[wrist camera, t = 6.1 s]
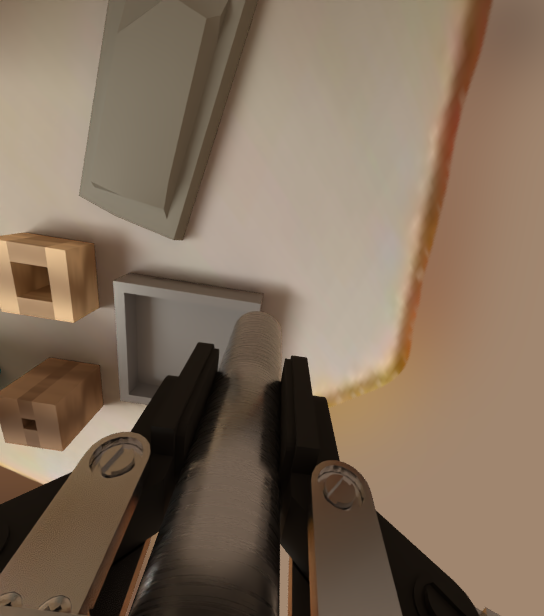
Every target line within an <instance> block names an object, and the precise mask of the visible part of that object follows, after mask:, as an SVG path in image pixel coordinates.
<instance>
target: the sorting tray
mask: <svg viewBox="0 0 544 616" xmlns="http://www.w3.org/2000/svg"><path fill="white" fill-rule="evenodd" d="M113 289H114V305H115V322H116V339H117V356H118V372H119V389H120V401H125V402H132V403H138V404H145V405H148V404H149V402H150V401H151V399H152V397H153V396H154V394H155V393H156V391H157V390H158V388H159V386H160V385H161V383H162V382H163V380H164V379H165V377H166V376H168V375H172V376H179V375H180V373H181V371H182V370H183V368H184V366H185V364H186V363H187V361H188V359H189V357H190V356H191V354H192V352H193V350H194V349H195V347H196V345H197V343H198V342H203V343H210V344H214V348H216V349H219V362H218V369H219V366H220V363H221V361H222V358H223V355H224V353H225V350H226V347H227V344H228V342H229V339H230V336H231V333H232V331H233V328H234V325H235V323H236V321H237V320H238V319H239V318H240V317H241V316H242V315H244V314H246V313H248V312H252V311H261V307H262V300H263V294H261V293H255V292H248V291H242V290H235V289H229V288H223V287H216V286H210V285H203V284H197V283H191V282H184V281H178V280H172V279H165V278H159V277H152V276H146V275H140V274H133V273H128V274H126V275H124V276H122V277H120V278H118V279H116V280H114V281H113Z"/></svg>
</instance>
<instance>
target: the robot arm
mask: <svg viewBox="0 0 544 616" xmlns="http://www.w3.org/2000/svg"><path fill="white" fill-rule="evenodd" d="M218 362H219V349H216V348H214V344H210V343H203V342H198V343H197V345H196V347H195V349H194V350H193V352H192V354H191V356H190V357H189V359H188V361H187V363H186V364H185V366H184V368H183V370H182V371H181V373H180V375H179V376H172V375H168V376H166V377H165V379H164V380H163V382H162V383H161V385H160V386H159V388H158V390H157V391H156V393H155V394H154V396H153V397H152V399H151V401H150V402H149V404H148V405H147V407H146V408H145V410H144V412H143V413H142V415H141V416H140V418H139V419H138V421H137V422H136V424H135V426H134V427H133V429H132V430H131V432H120V433H116V434H111V435H109V436H107V437H105V438H102V439H101V440H99V441H98V442H96V443H95V444H94V445H92V446H91V448H90V449H89V450H88V451H87V452H86V453H85V455H84V456H83V457H82V459H81V460H80V462H79V463H78V465H77V466H76V467H75V469H74V470H73V472H71V473H69V474H66V475H64V476H62V477H60V478H58V479H55V480H53V481H51V482H49V483H47V484H44V485H42V486H40V487H38V488H36V489H33V490H31V491H29V492H27V493H25V494H22V495H20V496H18V497H16V498H14V499H11V500H9V501H7V502H5V503H3V504H0V616H125V615H126V612H127V609H128V606H129V603H130V600H131V598H132V595H133V592H134V589H135V586H136V583H137V580H138V577H139V574H140V571H141V568H142V565H143V562H144V559H145V557H146V553H147V551H148V548H149V545H150V541H151V536H153V535H154V534H156V533H157V532H159V530H160V528H161V525H162V522H163V519H164V517H165V514H166V511H167V508H168V506H169V503H170V500H171V497H172V495H173V492H174V489H175V486H176V484H177V481H178V478H179V476H180V473H181V470H182V468H183V466H184V463H185V460H186V458H187V455H188V452H189V449H190V447H191V444H192V441H193V439H194V436H195V433H196V430H197V428H198V425H199V422H200V419H201V417H202V414H203V411H204V408H205V406H206V403H207V400H208V397H209V395H210V392H211V389H212V386H213V384H214V381H215V378H216V375H217V373H218ZM280 544H281V545H282V547H283V548H284V549H285V551H286V552H287V553H288V554H289V575H288V616H500V615H498V614H497V613H495V612H493V611H491V610H490V609H488V608H486V607H485V608H484V610H483V611H481V610H479V609H477V608H476V607H475V606H474V605H473V603H472V602H471V600H470V599H469V598H468V596H467V595H466V593H465V592H464V591H463V590H462V589H461V588H460V587H459V586H458V585H457V584H456V583H455V582H454V581H453V580H452V579H451V578H450V577H449V576H448V575H447V574H446V573H444V572H443V571H442V570H441V569H440V568H439V567H438V566H437V565H436V564H434V563H433V562H432V561H431V560H430V559H429V558H428V557H427V556H426V555H425V554H423V553H422V552H421V551H420V550H419V549H418V548H417V547H416V546H415V545H413V544H412V543H411V542H410V541H409V540H408V539H407V538H406V537H405V536H404V535H402V534H401V533H400V532H399V531H398V530H397V529H396V528H395V527H393V526H392V525H391V524H390V523H389V522H388V521H387V520H386V519H385V518H383V516H381V515H380V514H379V513H378V512H377V511H376V510H375V506H374V502H373V498H372V494H371V491H370V488H369V486H368V483H367V482H366V480H365V479H364V477H363V476H362V475H361V474H360V473H359V472H358V471H357V470H356V469H355V468H353V467H352V466H350V465H348V464H346V463H344V462H340V460H339V456H338V451H337V446H336V441H335V437H334V432H333V427H332V423H331V418H330V413H329V408H328V403H327V400H326V398H325V397H319V396H313V395H312V388H311V381H310V374H309V368H308V361H307V358H306V357H299V356H291V359H285V362H284V367H283V372H282V378H281V398H280Z"/></svg>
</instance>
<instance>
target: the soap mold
mask: <svg viewBox="0 0 544 616" xmlns="http://www.w3.org/2000/svg"><path fill="white" fill-rule="evenodd" d="M257 2H258V0H109V1H108V8H107V14H106V21H105V28H104V34H103V41H102V47H101V54H100V60H99V67H98V74H97V80H96V87H95V93H94V100H93V106H92V113H91V120H90V126H89V133H88V139H87V146H86V152H85V159H84V166H83V172H82V179H81V185H80V192H79V196H80V197H82V198H84V199H86V200H88V201H89V202H91V203H93V204H95V205H97V206H98V207H100V208H102V209H104V210H106V211H108V212H109V213H111V214H113V215H115V216H117V217H119V218H122V219H124V220H126V221H129V222H131V223H134V224H136V225H138V226H141V227H143V228H146V229H148V230H150V231H153V232H155V233H158V234H160V235H162V236H165V237H167V238H170V239H172V240H183V237H184V234H185V231H186V227H187V224H188V221H189V218H190V215H191V212H192V208H193V205H194V202H195V199H196V196H197V193H198V189H199V186H200V183H201V180H202V177H203V174H204V170H205V167H206V164H207V161H208V158H209V155H210V151H211V148H212V145H213V142H214V139H215V136H216V132H217V129H218V126H219V123H220V120H221V117H222V113H223V110H224V107H225V104H226V101H227V97H228V94H229V91H230V88H231V85H232V82H233V78H234V75H235V72H236V69H237V66H238V63H239V59H240V56H241V53H242V50H243V47H244V43H245V40H246V37H247V34H248V31H249V27H250V24H251V21H252V18H253V15H254V11H255V8H256V5H257Z"/></svg>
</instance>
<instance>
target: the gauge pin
mask: <svg viewBox="0 0 544 616" xmlns="http://www.w3.org/2000/svg"><path fill="white" fill-rule="evenodd" d="M281 355H282V331H281V327H280V325H279V323H278V321H277V320H276V319H275V318H274V317H273V316H271V315H270V314H268V313H265V312H261V311H252V312H248V313H246V314H244V315H242V316H241V317H240V318H239V319H238V320H237V321H236V323H235V325H234V328H233V331H232V333H231V336H230V339H229V342H228V344H227V347H226V350H225V353H224V355H223V358H222V361H221V363H220V366H219V369H218V373H217V375H216V378H215V381H214V384H213V386H212V389H211V392H210V395H209V397H208V400H207V403H206V406H205V408H204V411H203V414H202V417H201V419H200V422H199V425H198V428H197V430H196V433H195V436H194V439H193V441H192V444H191V447H190V449H189V452H188V455H187V458H186V460H185V463H184V466H183V468H182V470H181V473H180V476H179V478H178V481H177V484H176V486H175V489H174V492H173V495H172V497H171V500H170V503H169V506H168V508H167V511H166V514H165V517H164V519H163V522H162V525H161V528H160V530H159V533H158V536H157V538H156V541H155V544H154V547H153V550H152V553H151V555H150V558H149V560H148V563H147V566H146V569H145V572H144V574H143V577H142V579H141V582H140V585H139V588H138V590H137V593H136V596H135V599H134V601H133V604H132V607H131V610H130V612H129V615H128V616H279V586H280V585H279V584H280V583H279V581H280V398H281Z"/></svg>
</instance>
